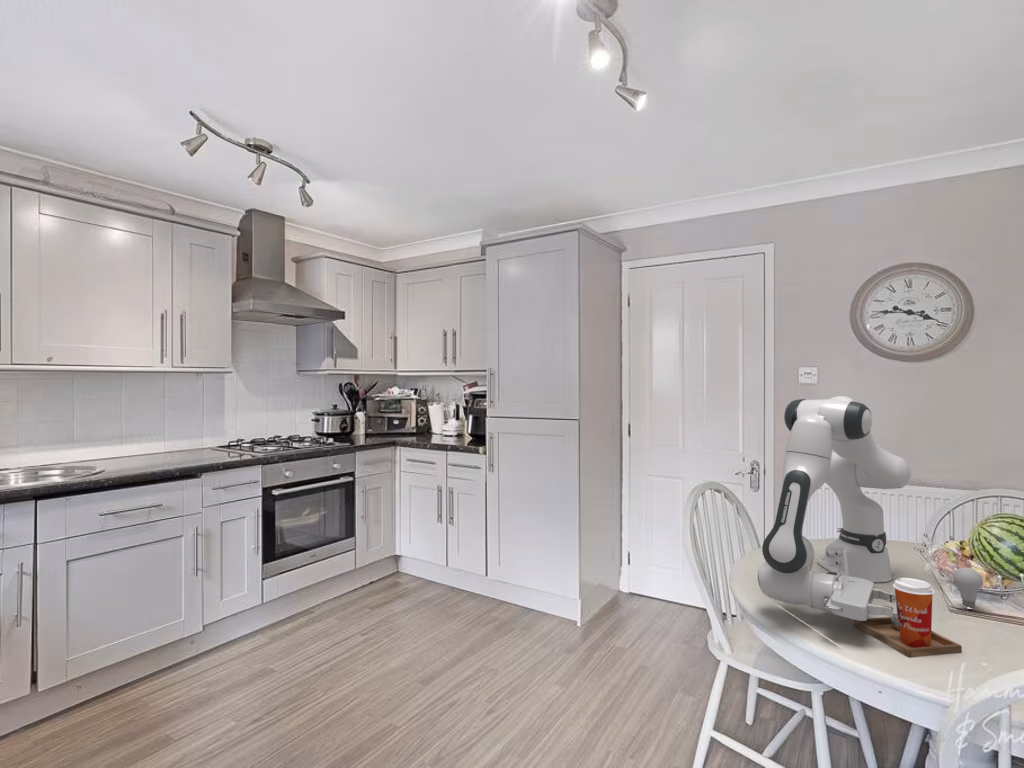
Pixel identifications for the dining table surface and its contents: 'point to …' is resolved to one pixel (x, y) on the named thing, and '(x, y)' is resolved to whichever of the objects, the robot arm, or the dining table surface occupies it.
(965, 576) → the lightbulb
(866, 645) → the dining table surface
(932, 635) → the tray
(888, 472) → the robot arm
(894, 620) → the part
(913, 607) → the paper cup
